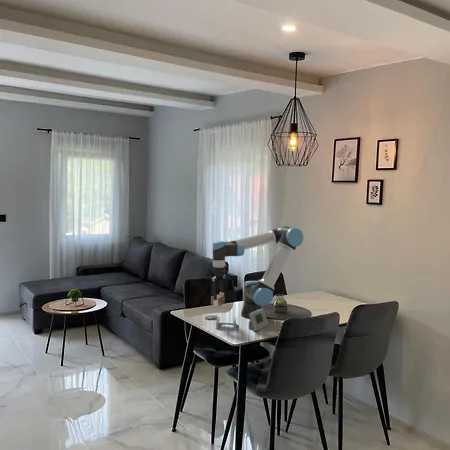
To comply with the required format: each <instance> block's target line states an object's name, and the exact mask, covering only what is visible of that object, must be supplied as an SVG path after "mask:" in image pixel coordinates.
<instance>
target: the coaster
mask: <svg viewBox="0 0 450 450" xmlns="http://www.w3.org/2000/svg"><path fill="white" fill-rule="evenodd" d="M217 317H219V316H218V315H206V316H204V319H205V320H209V321H217Z"/></svg>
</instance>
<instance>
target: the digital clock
mask: <svg viewBox="0 0 450 450" xmlns="http://www.w3.org/2000/svg"><path fill="white" fill-rule="evenodd" d="M248 319H249V321H248V329H249V330H252V331H253V332H259V331H261V330H262V329H265V327H267V326H268V324H269V323H268V319H267V316H266V313H265V310H264V308H263V309H262V308H261V309H258V310H256V311H253V312H252V313H250V314H249V318H248Z"/></svg>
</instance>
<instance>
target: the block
mask: <svg viewBox="0 0 450 450" xmlns="http://www.w3.org/2000/svg"><path fill="white" fill-rule="evenodd" d="M217 295H218V305H216V306H217V307H218V306H219V307H220V306H222V305H225V301H226V300H225V299H226V298H225V295H224V296H222V295H220V294H217ZM210 305H211V306H215V305H214V295H213V296H212V295H211V297H210Z"/></svg>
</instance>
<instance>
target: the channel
mask: <svg viewBox="0 0 450 450" xmlns="http://www.w3.org/2000/svg"><path fill="white" fill-rule="evenodd" d="M215 321H216V322H215V329H216V330H218V329H219V328H220V325H233V329H232V330H236V325H237V317H235V316H234V318H233V322H232V323H231V322H220V316H218V317H217V320H215Z"/></svg>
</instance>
